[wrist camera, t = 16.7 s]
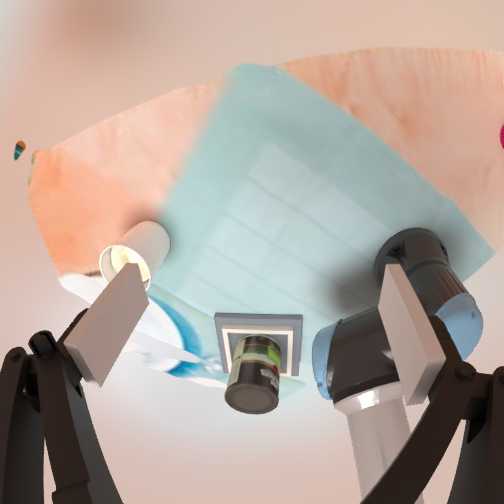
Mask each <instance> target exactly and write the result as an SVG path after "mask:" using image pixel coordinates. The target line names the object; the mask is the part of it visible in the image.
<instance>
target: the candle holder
mask: <svg viewBox="0 0 504 504" xmlns="http://www.w3.org/2000/svg"><path fill="white" fill-rule="evenodd" d="M169 249H170V238H169V235H168V233H167V232H166V230H165V229H164V228H163V227H162V226H161V225H159V224H158V223H156V222H153V221H142V222H140V223H138V224H136V225H135V226H134V227H132V228H131V229H130V230H129V231H127V232H126V233H125V234H123V235H122V236H121V237H120V238H118V239H117V240H116V241H115V242H113V243H112V244H111V245H110V246H108V247H107V248H105V249H104V250H103V252H102V253H101V256H100V260H99V266H100V271H101V274H102V276H103V278H104V279H105V281H106V282H107V283H108V284H109V283H110V282H111V281H112V279H113V278H114V277H115V276H116V275H117V273H118V272H119V271H120V270H121V269H122V268H123V266H124V265H125V264H126V263H138V265H139V269H140V272H141V276H142V280H143V284H144V287H145V291H147V290H148V288H149V287H150V284H151V282H152V280H153V278H154V277H155V275H156V273H157V271H158V270H159V268H160V266H161V264H162V263H163V261H164V259H165V257H166V255H167V254H168V252H169Z"/></svg>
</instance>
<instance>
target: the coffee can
mask: <svg viewBox="0 0 504 504" xmlns="http://www.w3.org/2000/svg"><path fill="white" fill-rule="evenodd" d="M281 354H282V349H281V346H280V344H279V343H278V342H277V341H276V340H275V339H274V338H272V337H270V336H268V335H264V334H249V335H246V336H244V337H242V338H241V339H240V340H239V341H238V342H237V344H236V350H235V354H234V359H233V363H232V368H231V372H230V377H229V381H228V386H227V390H226V392H225V401H226V402H227V404H228V405H229V406H230V407H232V408H233V409H235V410H237V411H240V412H243V413H247V414H264V413H268V412H270V411H272V410H273V409H275V408H276V407H277V405H278V402H279V398H278V392H279V377H280V363H281Z"/></svg>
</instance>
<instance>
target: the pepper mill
mask: <svg viewBox="0 0 504 504" xmlns="http://www.w3.org/2000/svg"><path fill="white" fill-rule="evenodd" d="M500 138H501V144H502V146H503V148H504V126H503V128H502V130H501V137H500Z"/></svg>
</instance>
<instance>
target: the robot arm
mask: <svg viewBox="0 0 504 504" xmlns="http://www.w3.org/2000/svg"><path fill="white" fill-rule="evenodd" d="M374 273H375V278H376V281H377V283H378V286H379V288H380V290H381V295H380V300H379V304H378V306H376V307H374V308H371V309H369V310H366V311H364V312H361V313H359V314H356V315H354V316H351V317H348V318H346V319H340V320H338V321H337V322H336V323H334V324H332V325H330V326H327V327H325V328H323V329H321V330H320V331H319V332H318V333H317V335H316V336H315V339H314V341H313V346H312V365H313V373H314V378H315V381H317V387H318V390H319V392H320V394H321V396H322V397H323V398H325V399H327V400H333V403H334V407H335V409H337V410H339V411H340V412H342V413H344V414H345V415H346V416H347V420H348V425H349V430H350V435H351V440H352V445H353V450H354V455H355V461H356V467H357V472H358V478H359V484H360V490H361V496H362V501H361V503H360V504H424V500H423V493H422V491H423V490H424V488H425V487H426V485H427V483H428V482H429V480H430V478H431V477H432V475H433V473H434V472H435V470H436V468H437V466H438V465H439V463H440V461H441V459H442V457H443V455H444V454H445V452H446V449H447V448H448V446H449V444H450V442H451V440H452V438H453V436H454V434H455V432H456V429H457V427H458V425H459V423H460V421H461V419H463V420H466V426H465V432H464V437H463V443H462V448H461V453H460V457H459V462H458V466H457V470H456V474H455V478H454V482H453V486H452V489H451V492H450V496H449V499H448V502H447V504H504V366H501V367H499V368H497V369H496V370H495V371H494V373H493V374H483V373H478V372H476V369H475V368H474V367H473V366H472V365H471V364H469V363H468V362H464V360H465V359H466V358H467V357H468V356H469V355H470V354H471V353H472V351H473V349H474V348H475V347H476V345H477V344H478V342H479V340H480V337H481V334H482V330H483V318H482V315H481V312H480V311H479V309H478V307H477V305H476V302H475V300H474V298H473V297H472V295H470V294H469V292H468V291H467V290H466V288H465V287H464V286H463V284H462V283H461V281H460V280H459V279H458V277H457V276H456V275H455V273H454V272H453V271H452V270H451V268H450V264H449V259H448V255H447V251H446V249H445V247H444V245H443V243H442V242H441V241H440V240H439V239H438V237H437V236H436V235H434V234H433V233H432V232H430V231H428V230H425V229H419V228H414V229H408V230H404V231H402V232H400V233H398V234H396V235H394V236H393V237H392V238H390V239H389V240H388V241H387V242H386V243H385V244H384V245H383V247H382V248H381V250H380V251H379V253H378V255H377V258H376V261H375V267H374ZM148 304H149V301H148V298H147V294H146V291H145V287H144V284H143V280H142V276H141V272H140V269H139V265H138V263H126V264H125V265H124V266H123V268H122V269H121V270H120V271H119V272H118V273H117V275H116V276H115V277H114V278H113V279H112V281H111V282H110V283H109V284H108V286H107V287H106V288H105V289H104V290H103V292H102V293H101V294H100V295H99V297H98V298H97V299H96V300H95V302H94V303H93V304H92V305H91V307H90V308H86V309H85V310H83V311H82V312H80V313H79V314H78V315H77V317H76V318H75V319H74V321H73V322H72V323H71V324H70V325H69V327H68V328H67V330H66V331H65V332H64V333H63V335H62V336H61V337H60V338H59V340H58V341H57V342H56V341H55V339H54V337H53V335H52V333H51V332H50V331H46V330H43V331H39V332H38V333H35V334H34V335H33V336H32V337H31V338H30V340H29V343H28V345H29V347H30V348H31V350H32V352H33V353H34V354H30V355H28V354H27V353H26V351H25V350H24V348H22V347H16V348H13V349H11V350H10V351H9V352H8V353H7V354H6V356H5V359H4V362H3V365H2V369H1V372H0V504H44V487H43V485H44V484H43V465H44V439H45V440H46V446H47V450H48V455H49V460H50V465H51V469H52V473H53V477H54V481H55V484H56V491H54V492H52V501H53V504H123V502H122V500H121V498H120V495H119V493H118V491H117V489H116V486H115V484H114V482H113V479H112V477H111V474H110V472H109V470H108V467H107V464H106V462H105V459H104V456H103V453H102V451H101V448H100V445H99V442H98V439H97V436H96V433H95V430H94V427H93V424H92V420H91V417H90V414H89V410H88V407H87V403H86V399H85V396H84V392H83V388H82V386H81V384H80V381H81V379H82V377H83V378H84V380H85V381H86V383H87V384H88V385H90V386H94V387H98V388H101V386H102V385H103V383H104V381H105V379H106V377H107V375H108V374H109V372H110V370H111V368H112V366H113V365H114V363H115V361H116V359H117V357H118V356H119V354H120V352H121V350H122V349H123V347H124V345H125V343H126V342H127V340H128V338H129V337H130V335H131V333H132V331H133V330H134V328H135V326H136V325H137V323H138V321H139V319H140V318H141V316H142V314H143V313H144V311H145V309H146V308H147V306H148ZM24 390H25V391H24ZM403 395H404V398H405V402H406V405H407V406H408V405H415V404H422V403H423V402H424V400H425V399H426V397H427V395H428V398H429V401H430V403H429V405H428V407H427V408H426V410H425V412H424V413H423V415H422V417H421V419H420V421H419V422H418V424H417V426H416V427H415V429H414V431H413V432H412V434H411V432H410V428H409V424H408V420H407V416H406V412H405V408H404V404H403V400H402V398H403V397H402V396H403Z"/></svg>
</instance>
